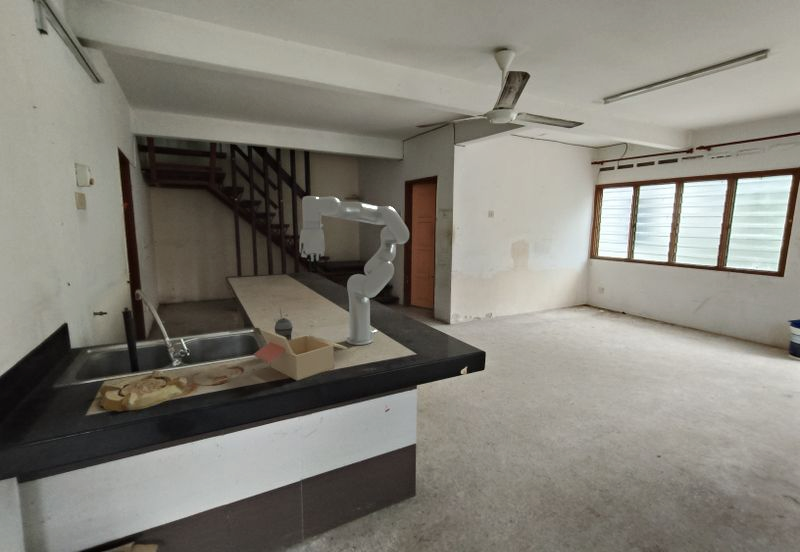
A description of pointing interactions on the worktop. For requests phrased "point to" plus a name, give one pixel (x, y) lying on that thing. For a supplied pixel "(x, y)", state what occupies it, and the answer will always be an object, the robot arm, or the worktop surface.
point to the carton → (305, 358)
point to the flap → (273, 346)
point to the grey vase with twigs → (283, 327)
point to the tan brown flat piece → (142, 391)
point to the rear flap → (329, 342)
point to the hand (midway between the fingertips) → (313, 270)
